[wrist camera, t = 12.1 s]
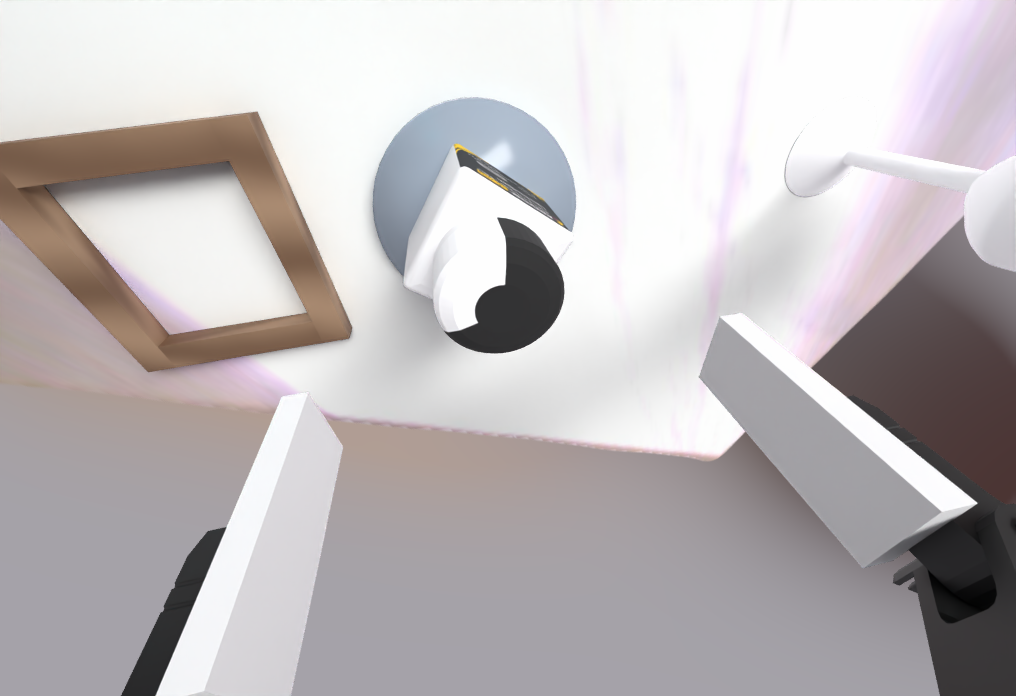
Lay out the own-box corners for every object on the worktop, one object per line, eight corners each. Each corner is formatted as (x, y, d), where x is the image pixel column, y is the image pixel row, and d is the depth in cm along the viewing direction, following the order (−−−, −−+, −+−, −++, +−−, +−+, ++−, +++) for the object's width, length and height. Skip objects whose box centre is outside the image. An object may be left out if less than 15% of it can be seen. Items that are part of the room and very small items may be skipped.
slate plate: (341, 112, 21) (339, 113, 20) (575, 84, 22) (579, 84, 22) (405, 313, 30) (405, 318, 29) (570, 286, 31) (573, 291, 30)
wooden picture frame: (-35, 146, 19) (-65, 151, 18) (257, 111, 20) (246, 114, 19) (159, 359, 29) (148, 372, 27) (352, 327, 30) (349, 338, 29)
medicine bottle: (545, 200, 25) (613, 278, 16) (493, 282, 28) (524, 387, 19) (453, 139, 22) (470, 194, 13) (406, 239, 25) (393, 341, 16)
